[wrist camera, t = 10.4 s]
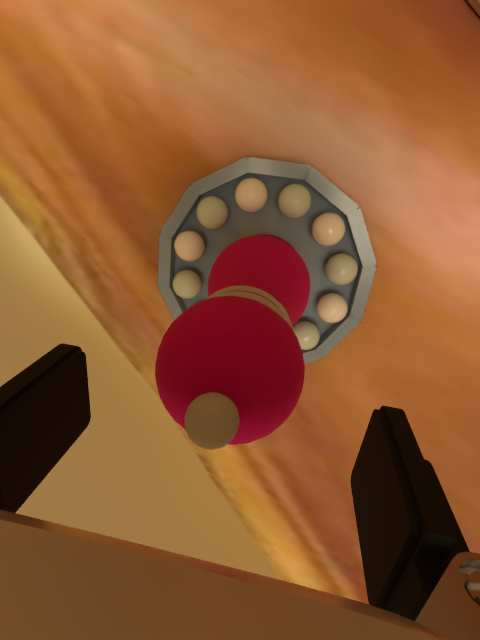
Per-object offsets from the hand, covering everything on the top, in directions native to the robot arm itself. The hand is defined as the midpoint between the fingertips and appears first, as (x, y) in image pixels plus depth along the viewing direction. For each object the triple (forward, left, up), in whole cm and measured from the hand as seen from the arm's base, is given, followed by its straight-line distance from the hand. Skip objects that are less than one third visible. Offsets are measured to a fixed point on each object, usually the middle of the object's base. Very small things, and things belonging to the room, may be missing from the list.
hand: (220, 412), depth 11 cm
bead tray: (+1, 0, -20) cm, 20 cm away
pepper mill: (0, 0, -19) cm, 19 cm away
